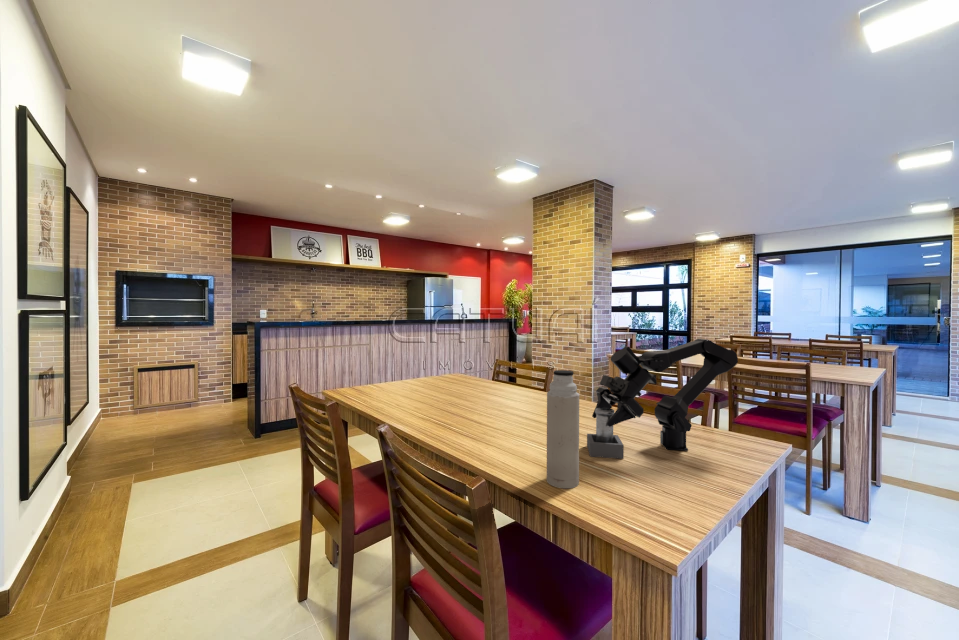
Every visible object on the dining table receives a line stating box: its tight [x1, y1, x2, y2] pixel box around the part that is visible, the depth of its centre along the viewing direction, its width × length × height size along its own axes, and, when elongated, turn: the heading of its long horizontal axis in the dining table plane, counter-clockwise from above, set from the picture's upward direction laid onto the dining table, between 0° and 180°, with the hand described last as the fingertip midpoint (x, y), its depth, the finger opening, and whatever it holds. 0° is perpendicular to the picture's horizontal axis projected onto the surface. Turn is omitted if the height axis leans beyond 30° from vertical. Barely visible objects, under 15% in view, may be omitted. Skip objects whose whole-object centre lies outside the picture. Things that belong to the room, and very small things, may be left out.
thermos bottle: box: [546, 369, 580, 489], centre depth 96 cm, size 8×8×28 cm
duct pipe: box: [594, 407, 615, 443], centre depth 117 cm, size 6×6×13 cm
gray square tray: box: [586, 433, 625, 460], centre depth 117 cm, size 9×9×4 cm
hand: (600, 421), depth 116 cm, fingers open, 9 cm apart
